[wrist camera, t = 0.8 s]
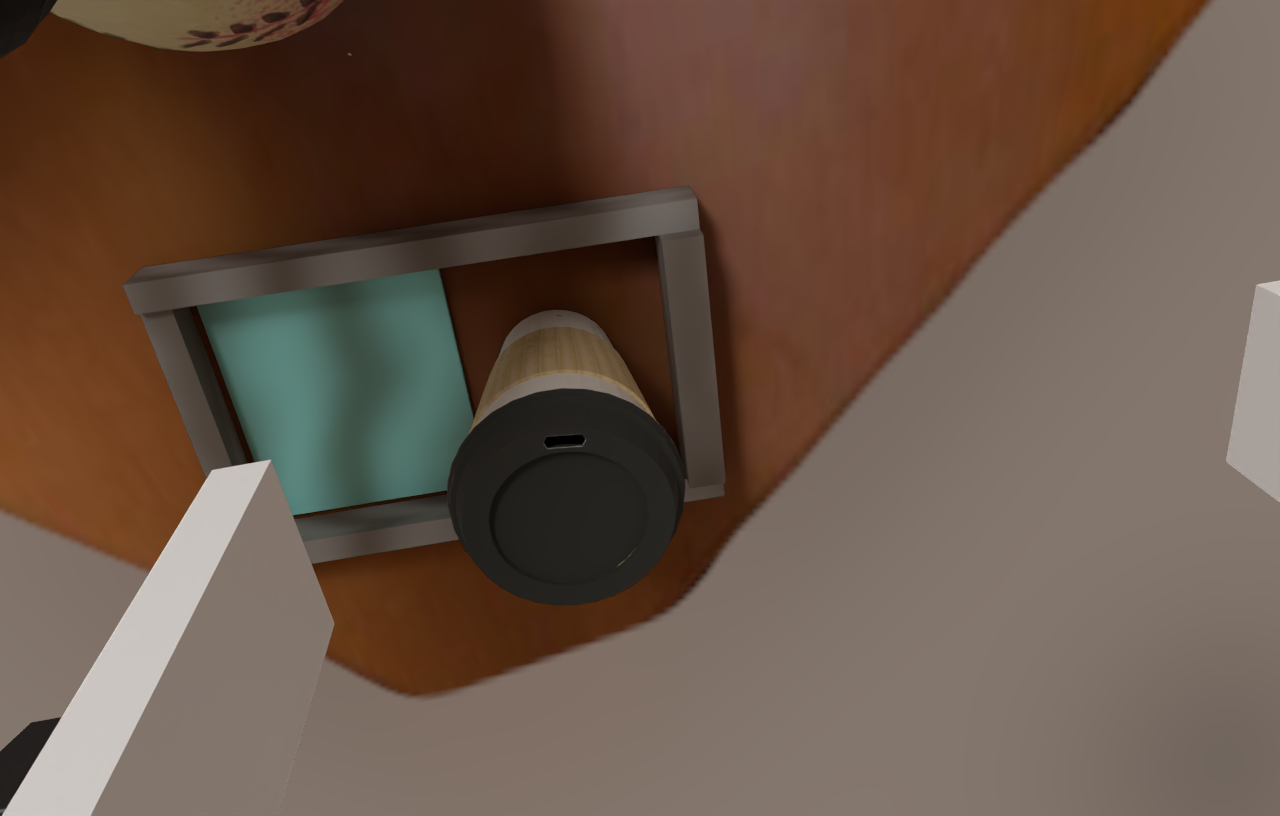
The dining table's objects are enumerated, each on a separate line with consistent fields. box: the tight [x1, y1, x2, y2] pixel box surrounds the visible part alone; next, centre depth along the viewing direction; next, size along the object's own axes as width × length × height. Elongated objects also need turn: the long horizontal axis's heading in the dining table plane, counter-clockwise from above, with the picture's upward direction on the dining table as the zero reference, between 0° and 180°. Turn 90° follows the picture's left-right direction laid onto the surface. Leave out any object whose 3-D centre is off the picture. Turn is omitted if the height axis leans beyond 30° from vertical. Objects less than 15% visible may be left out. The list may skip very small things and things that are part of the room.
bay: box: [123, 186, 726, 564], centre depth 48 cm, size 27×17×4 cm, turn 97°
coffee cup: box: [447, 310, 685, 605], centre depth 43 cm, size 10×10×15 cm
